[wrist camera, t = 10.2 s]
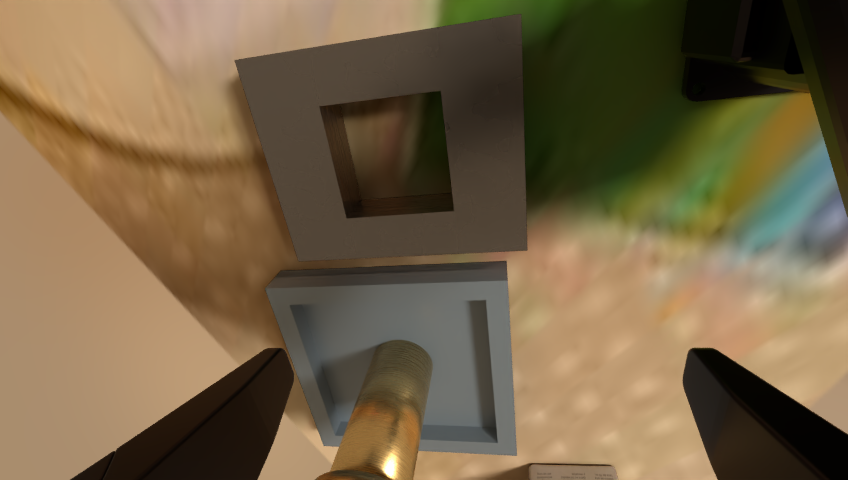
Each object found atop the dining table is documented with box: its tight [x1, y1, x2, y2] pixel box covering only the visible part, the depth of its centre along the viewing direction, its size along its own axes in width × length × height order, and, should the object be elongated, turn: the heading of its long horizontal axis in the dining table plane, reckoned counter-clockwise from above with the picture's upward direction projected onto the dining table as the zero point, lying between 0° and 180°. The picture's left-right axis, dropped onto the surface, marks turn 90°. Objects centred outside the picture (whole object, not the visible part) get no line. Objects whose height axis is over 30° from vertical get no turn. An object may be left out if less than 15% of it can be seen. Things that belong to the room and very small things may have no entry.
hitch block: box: [235, 14, 527, 261], centre depth 19 cm, size 12×10×2 cm
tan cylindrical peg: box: [315, 340, 433, 480], centre depth 22 cm, size 5×5×10 cm
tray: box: [265, 261, 517, 456], centre depth 26 cm, size 14×14×2 cm
